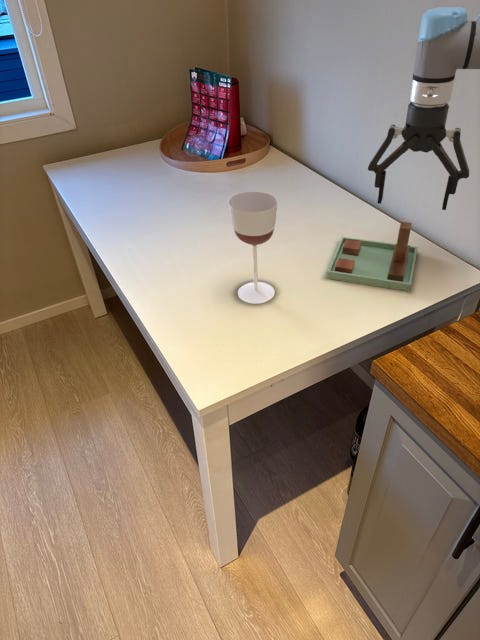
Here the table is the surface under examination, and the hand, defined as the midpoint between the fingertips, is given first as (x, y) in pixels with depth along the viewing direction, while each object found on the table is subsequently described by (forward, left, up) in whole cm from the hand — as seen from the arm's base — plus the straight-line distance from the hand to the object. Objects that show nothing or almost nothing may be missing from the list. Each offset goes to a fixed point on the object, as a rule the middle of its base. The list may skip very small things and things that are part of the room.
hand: (411, 204), depth 107 cm
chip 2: (+12, +5, -17) cm, 21 cm away
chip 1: (+12, -4, -17) cm, 21 cm away
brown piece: (0, 0, -17) cm, 17 cm away
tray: (+6, 0, -17) cm, 18 cm away
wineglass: (+30, +19, -17) cm, 40 cm away
